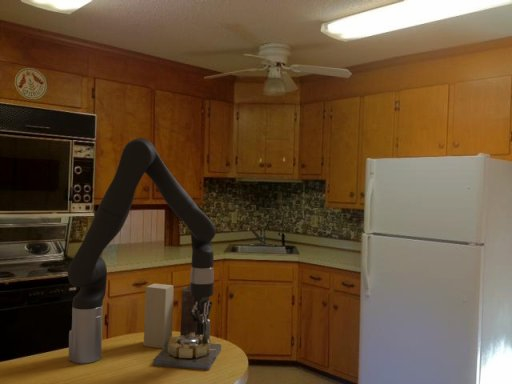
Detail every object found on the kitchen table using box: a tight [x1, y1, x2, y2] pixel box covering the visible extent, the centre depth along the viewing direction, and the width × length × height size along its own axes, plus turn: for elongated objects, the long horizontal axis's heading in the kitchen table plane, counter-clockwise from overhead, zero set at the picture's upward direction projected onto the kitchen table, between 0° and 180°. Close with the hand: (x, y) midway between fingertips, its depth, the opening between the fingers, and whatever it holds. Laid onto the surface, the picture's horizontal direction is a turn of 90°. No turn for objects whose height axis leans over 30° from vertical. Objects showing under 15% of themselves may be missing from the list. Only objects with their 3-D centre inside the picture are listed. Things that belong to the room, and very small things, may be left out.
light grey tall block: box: [143, 283, 175, 349], centre depth 168 cm, size 8×7×21 cm
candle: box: [179, 285, 201, 336], centre depth 172 cm, size 8×7×20 cm
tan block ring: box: [167, 318, 211, 358], centre depth 156 cm, size 14×14×10 cm
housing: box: [153, 336, 222, 371], centre depth 156 cm, size 18×18×6 cm
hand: (200, 333), depth 152 cm, fingers closed
